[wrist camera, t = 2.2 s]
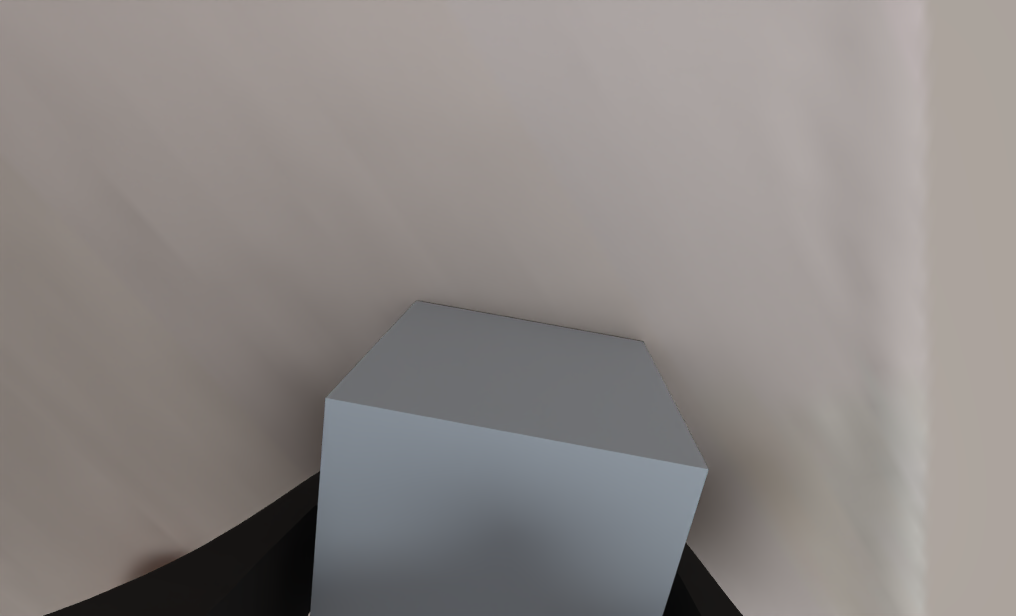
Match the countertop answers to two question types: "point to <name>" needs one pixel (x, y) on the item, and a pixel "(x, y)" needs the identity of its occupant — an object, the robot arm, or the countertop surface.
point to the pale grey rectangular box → (501, 474)
